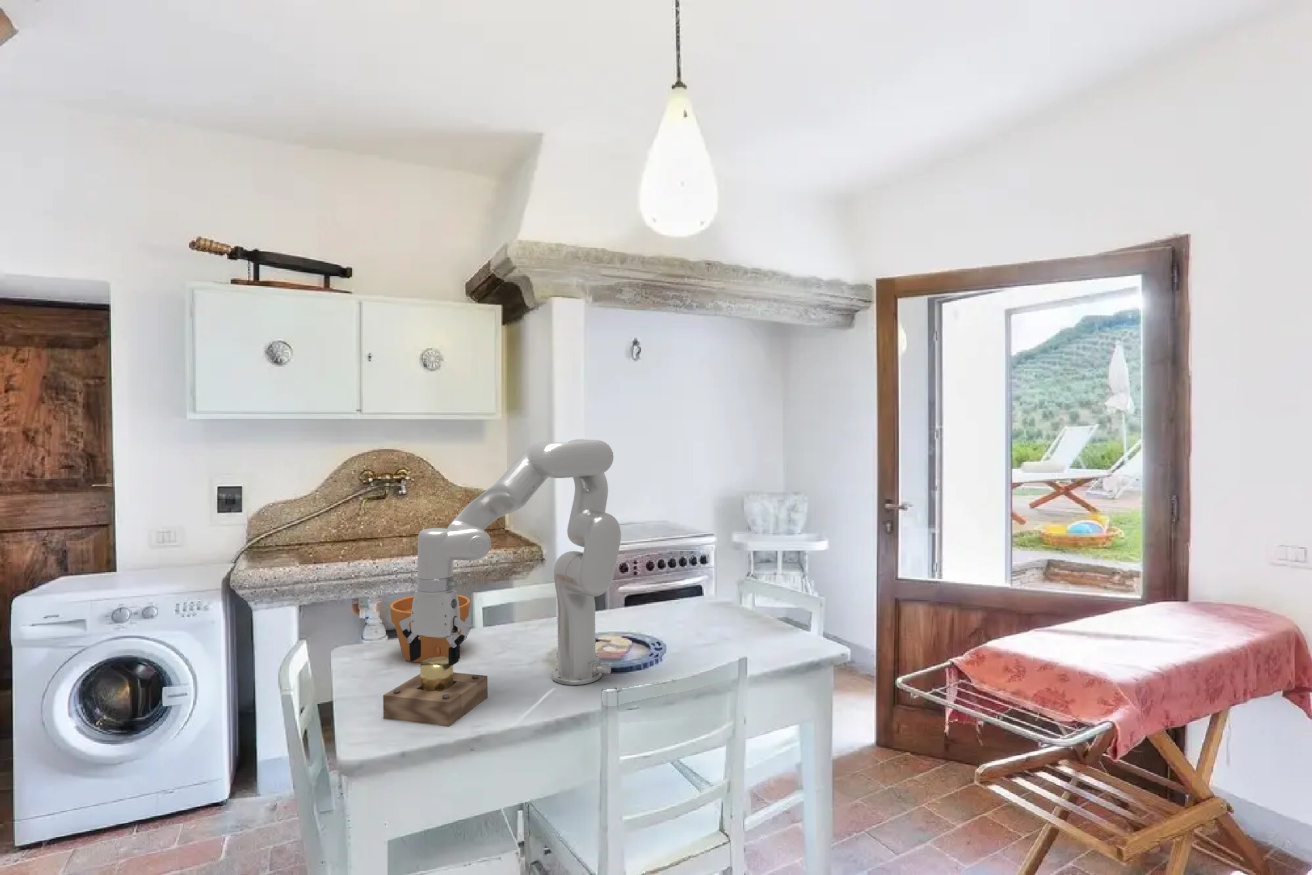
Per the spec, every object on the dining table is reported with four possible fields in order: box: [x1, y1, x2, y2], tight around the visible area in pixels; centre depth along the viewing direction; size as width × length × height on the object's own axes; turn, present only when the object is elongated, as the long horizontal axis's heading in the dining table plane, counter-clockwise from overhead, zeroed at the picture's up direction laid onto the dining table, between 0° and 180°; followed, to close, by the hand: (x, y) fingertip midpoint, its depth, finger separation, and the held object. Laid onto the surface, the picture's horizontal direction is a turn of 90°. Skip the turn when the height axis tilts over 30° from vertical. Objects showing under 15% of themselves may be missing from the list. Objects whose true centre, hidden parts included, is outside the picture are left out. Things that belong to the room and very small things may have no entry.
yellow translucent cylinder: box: [419, 657, 454, 692], centre depth 154 cm, size 7×7×10 cm
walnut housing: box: [382, 671, 489, 727], centre depth 154 cm, size 16×16×6 cm
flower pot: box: [389, 594, 471, 664], centre depth 193 cm, size 21×21×15 cm
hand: (434, 661), depth 154 cm, fingers open, 9 cm apart
